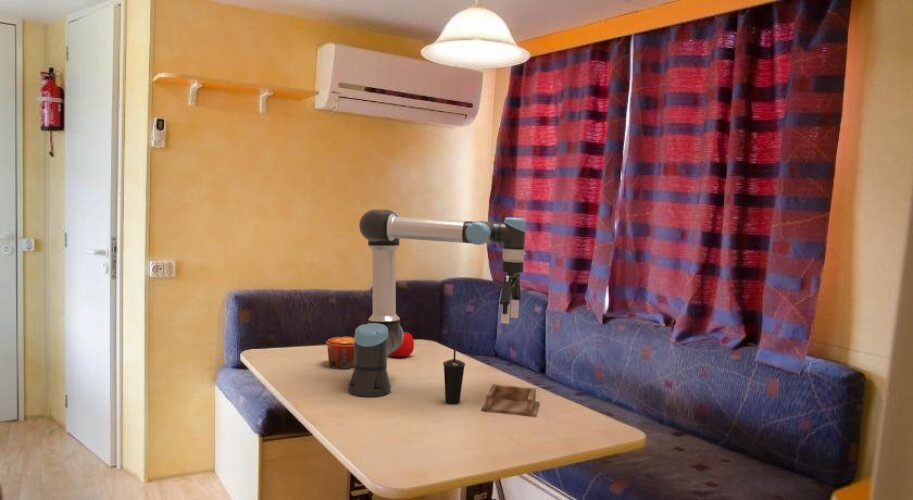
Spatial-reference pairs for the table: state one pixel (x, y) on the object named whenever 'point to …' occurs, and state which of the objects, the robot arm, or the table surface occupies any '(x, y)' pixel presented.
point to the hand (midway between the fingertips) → (509, 320)
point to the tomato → (404, 346)
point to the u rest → (511, 400)
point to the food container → (341, 352)
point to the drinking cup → (453, 379)
